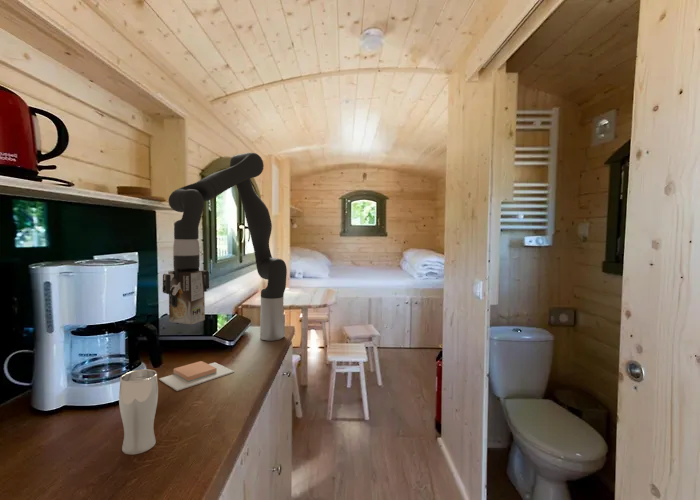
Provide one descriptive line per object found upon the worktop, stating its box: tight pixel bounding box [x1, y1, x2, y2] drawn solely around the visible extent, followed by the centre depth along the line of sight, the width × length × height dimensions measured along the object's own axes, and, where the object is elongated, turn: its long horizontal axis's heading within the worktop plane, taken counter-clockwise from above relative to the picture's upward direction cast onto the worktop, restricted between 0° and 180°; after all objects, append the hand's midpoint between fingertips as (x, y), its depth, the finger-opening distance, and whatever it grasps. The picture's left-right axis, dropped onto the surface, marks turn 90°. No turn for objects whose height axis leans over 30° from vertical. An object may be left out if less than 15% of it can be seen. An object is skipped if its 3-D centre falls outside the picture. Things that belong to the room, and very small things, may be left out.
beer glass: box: [118, 368, 159, 456], centre depth 75 cm, size 7×7×15 cm
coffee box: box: [167, 270, 206, 325], centre depth 116 cm, size 9×6×16 cm
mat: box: [158, 362, 235, 392], centre depth 111 cm, size 18×11×1 cm, turn 141°
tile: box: [173, 360, 217, 382], centre depth 112 cm, size 9×2×9 cm
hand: (186, 304), depth 116 cm, fingers closed on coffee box, 7 cm apart
